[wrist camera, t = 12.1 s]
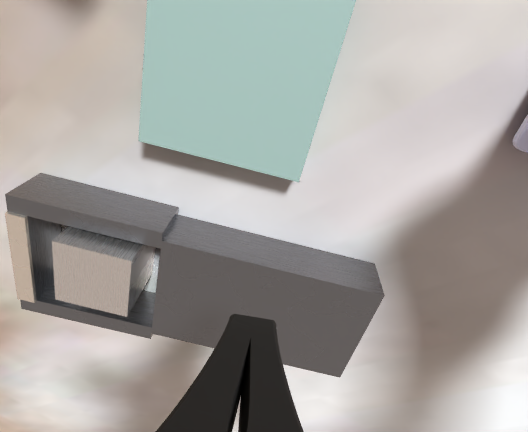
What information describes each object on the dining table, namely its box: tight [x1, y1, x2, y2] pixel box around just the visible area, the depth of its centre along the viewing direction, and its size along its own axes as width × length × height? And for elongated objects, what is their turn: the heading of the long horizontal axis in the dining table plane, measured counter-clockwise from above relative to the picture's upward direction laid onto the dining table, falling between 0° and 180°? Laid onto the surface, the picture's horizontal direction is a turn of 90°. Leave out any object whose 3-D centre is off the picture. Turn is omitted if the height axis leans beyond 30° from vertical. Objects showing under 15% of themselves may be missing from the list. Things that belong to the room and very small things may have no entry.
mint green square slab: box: [139, 0, 356, 182], centre depth 16 cm, size 8×8×2 cm
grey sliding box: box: [5, 173, 384, 377], centre depth 21 cm, size 20×8×3 cm, turn 77°
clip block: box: [52, 226, 155, 317], centre depth 20 cm, size 4×4×4 cm
